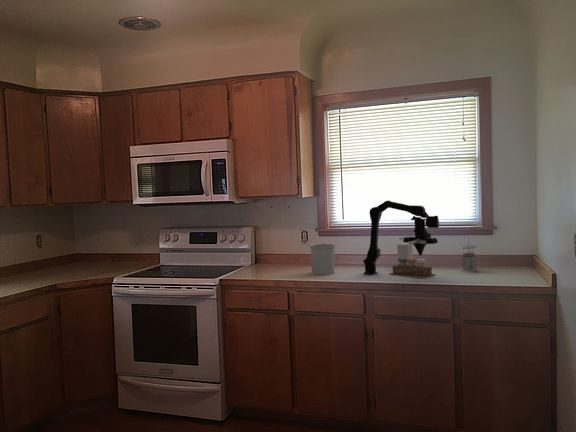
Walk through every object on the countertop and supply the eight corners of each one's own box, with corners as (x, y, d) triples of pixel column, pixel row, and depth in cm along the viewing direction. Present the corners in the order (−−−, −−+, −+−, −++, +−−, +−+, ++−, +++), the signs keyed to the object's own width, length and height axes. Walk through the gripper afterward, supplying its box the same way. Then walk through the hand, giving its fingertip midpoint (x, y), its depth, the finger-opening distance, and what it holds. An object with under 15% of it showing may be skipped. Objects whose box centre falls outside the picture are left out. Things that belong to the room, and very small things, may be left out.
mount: (424, 278, 266) (423, 269, 266) (389, 274, 283) (388, 266, 283) (435, 275, 275) (435, 266, 274) (400, 271, 291) (400, 263, 291)
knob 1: (404, 268, 279) (403, 258, 279) (396, 267, 283) (396, 258, 283) (409, 266, 283) (408, 257, 283) (401, 265, 287) (401, 257, 286)
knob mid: (413, 268, 275) (412, 259, 275) (405, 268, 279) (405, 259, 278) (418, 267, 278) (417, 258, 278) (410, 266, 282) (410, 257, 282)
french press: (475, 268, 290) (474, 227, 289) (481, 272, 279) (480, 228, 277) (458, 269, 291) (457, 227, 290) (463, 272, 280) (462, 229, 278)
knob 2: (422, 269, 271) (422, 260, 270) (414, 269, 274) (414, 259, 274) (427, 268, 274) (427, 259, 274) (419, 267, 278) (419, 258, 278)
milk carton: (408, 269, 298) (407, 238, 297) (397, 268, 302) (396, 238, 301) (413, 267, 303) (412, 237, 302) (402, 266, 308) (401, 237, 307)
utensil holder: (340, 272, 297) (339, 243, 296) (325, 276, 286) (324, 246, 285) (321, 270, 307) (320, 242, 306) (306, 273, 296) (305, 245, 295)
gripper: (442, 227, 272) (442, 254, 273) (413, 226, 285) (413, 252, 286) (431, 228, 264) (432, 257, 265) (402, 227, 278) (403, 254, 278)
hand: (420, 255), depth 274 cm, fingers closed
